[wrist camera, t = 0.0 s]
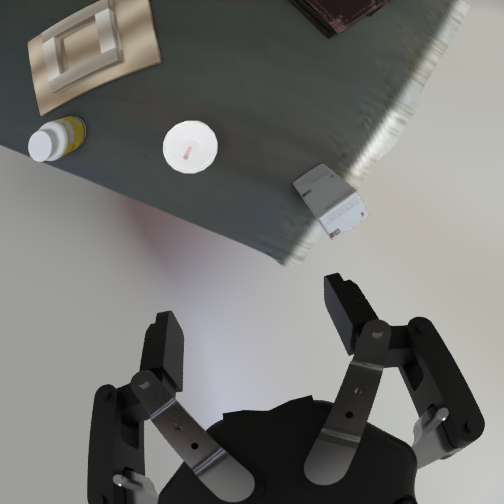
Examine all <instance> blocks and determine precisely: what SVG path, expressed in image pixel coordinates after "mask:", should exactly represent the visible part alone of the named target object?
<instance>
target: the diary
mask: <svg viewBox="0 0 504 504" xmlns="http://www.w3.org/2000/svg"><path fill="white" fill-rule="evenodd" d="M288 1H289V2H291V3H292V4H293V5H294V6H295V7H296V8H297V9H298V10H299V11H300V12H302V13H303V14H304V15H305V16H306V17H307V18H308V19H309V20H310V21H311V22H312V23H313V24H314V25H315V26H316V27H317V28H318V29H319V30H320V31H321V32H322V33H323V34H324V35H325V36H327V37H328V38H330V37H332V36H333V35H334V34H336V33H337V34H338V35H339V34H340V33H341V32H343V31H344V30H345V29H347V28H348V27H350V26H351V25H353V24H354V23H356V22H357V21H358V20H360V19H361V18H363V17H364V16H366V15H368V14H370V16H372V15H373V14H374V13H375V12H376V11H377V10H379V9H380V8H381V7H382V6H383V5H384V4H385V3H387V2H388V1H390V0H288Z"/></svg>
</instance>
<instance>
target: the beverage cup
mask: <svg viewBox="0 0 504 504" xmlns="http://www.w3.org/2000/svg"><path fill="white" fill-rule="evenodd" d="M217 144H218V143H217V140H216V137H215V134H214V132H213V131H212V130H211V129H210V128H209V127H208V126H207V125H206V124H205V123H202V122H200V121H185V122H182V123H179V124H177V125H175V126H174V127H173V128H172V129H171V130H170V131H169V132H168V133H167V135H166V137H165V140H164V142H163V154H164V156H165V159H166V161H167V163H168V164H169V165H170V166H171V167H172V168H173V169H175V170H177V171H180V172H182V173H197V172H199V171H202V170H204V169H206V168H207V167H208V166H209V165H210V164H211V163H212V162H213V160H214V158H215V156H216V154H217Z"/></svg>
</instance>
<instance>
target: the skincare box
mask: <svg viewBox="0 0 504 504" xmlns="http://www.w3.org/2000/svg"><path fill="white" fill-rule="evenodd" d="M293 185H294V186H295V188H296V189H297V191H298V192H299V194H300V195H301V197H302V198H303V200H304V202H305V203H306V204H307V206H308V207H309V208H310V210H311V211H312V213H313V214H314V215H315V217H316V218H317V220H318V221H319V223H320V224H321V225H322V227H323V228H324V230H325V231H326V233H327V234H328V236H329V237H330V239H331V240H334V239H335V238H336V237H338V236H339V235H341V234H343V233H344V232H346V231H349V230H350V229H352V228H353V227H354V226H356V224H358V223H359V222H360V221H362V220H363V219H365V218H366V217H368V216H369V214H368V212H367V211H366V208H365V206H364V204H363V202H362V200H361V198H360V196H359V194H358V192H357V191H356V190H355V189H354V188H353V187H351V186H350V185H349V184H348V183H347V182H346V181H344V180H343V179H342V178H341V177H340V176H338V175H337V174H336V173H335V172H333V171H332V170H331V169H330V168H328V167H327V166H326V165H325V164H320V165H318V166H316V167H315V168H313V169H312V170H310V171H308V172H307V173H305V174H304V175H303V176H301V177H300V178H298V179H297V180H296V181H294V182H293Z"/></svg>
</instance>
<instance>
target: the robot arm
mask: <svg viewBox="0 0 504 504" xmlns="http://www.w3.org/2000/svg"><path fill="white" fill-rule="evenodd" d="M324 299H325V305H326V307H327V310H328V312H329V314H330V316H331V318H332V321H333V323H334V325H335V327H336V329H337V331H338V333H339V335H340V338H341V340H342V342H343V344H344V346H345V349H346V351H347V353H348V355H349V356H350V355H352V354H354V357H353V359H352V361H351V362H350V364H349V367H348V369H347V372H346V375H345V377H344V380H343V382H342V385H341V387H340V390H339V392H338V395H337V397H336V399H335V402H334V403H332V402H329V401H323V400H313V398H312V395H310V396H306V397H302V398H298V399H294V400H290V401H288V402H286V403H284V404H282V405H280V406H278V407H276V408H273V409H271V410H269V411H254V410H252V411H251V410H242V411H236V412H229V413H223V420H220V421H218V422H216V423H215V424H213V425H212V426H211V427H209V428H208V429H207V430H206V431H205V430H204V429H203V428H202V427H201V426H200V425H199V424H198V423H197V422H196V421H195V419H194V418H193V417H192V416H190V414H189V413H188V412H187V411H186V410H185V409H184V408H183V407H182V406H181V405H180V403H179V402H178V401H177V400H176V399H175V395H176V394H175V393H176V392H182V391H183V353H184V335H183V332H182V329H181V327H180V325H179V323H178V322H177V320H176V318H175V316H174V314H173V312H172V311H166V312H161V313H157V316H156V322H155V323H154V324H151V325H150V326H149V328H148V329H147V331H146V334H145V339H144V340H145V341H144V346H143V347H144V348H143V351H142V358H141V364H140V371H139V372H138V373H136V374H135V375H134V376H133V378H132V379H131V382H130V383H129V384H127V385H125V386H122V387H119V388H117V389H116V388H115V387H114V386H113V385H110V384H107V385H103V386H101V387H100V388H99V389H98V390H97V392H96V394H95V398H94V404H93V412H92V421H91V429H90V440H89V455H88V480H87V481H88V482H87V483H88V484H87V485H88V486H87V498H88V503H89V504H418V503H417V501H416V498H415V494H414V484H415V477H416V472H417V470H418V469H419V468H422V467H424V466H426V465H428V464H430V463H432V462H434V461H436V460H438V459H447V458H449V457H451V456H452V455H454V454H455V453H457V452H459V451H460V450H462V449H463V448H465V447H466V446H468V445H469V444H471V443H472V442H474V441H475V440H477V439H478V438H479V437H480V436H481V435H482V433H483V431H484V426H485V422H484V418H483V416H482V414H481V411H480V409H479V407H478V405H477V403H476V401H475V399H474V397H473V395H472V392H471V390H470V388H469V387H468V385H467V383H466V381H465V379H464V377H463V375H462V373H461V372H460V369H459V368H458V366H457V364H456V363H455V361H454V359H453V357H452V355H451V353H450V352H449V350H448V348H447V347H446V345H445V343H444V342H443V340H442V338H441V337H440V335H439V333H438V332H437V330H436V329H435V327H434V325H433V324H432V322H431V321H430V320H428V319H427V318H424V317H415V318H413V319H411V320H410V321H409V323H408V325H404V326H390V325H389V324H388V323H386V322H385V321H383V320H379V318H378V317H377V315H376V313H375V312H374V310H373V309H372V307H371V305H370V304H369V302H368V301H367V299H366V298H365V296H364V294H363V293H362V291H361V290H360V288H359V287H358V285H357V284H355V283H353V282H352V281H351V280H347V281H344V280H343V279H342V277H341V276H340V274H339V273H335V274H331V275H327V276H324ZM388 367H398V368H399V371H400V373H401V375H402V377H403V379H404V382H405V384H406V386H407V388H408V391H409V393H410V396H411V398H412V401H413V403H414V405H415V408H416V410H417V413H418V415H419V419H418V421H417V422H416V423H415V425H414V431H413V432H414V443H413V445H412V447H410V446H409V445H408V444H407V443H406V442H404V441H402V440H400V439H398V438H396V437H394V436H392V435H390V434H389V433H387V432H385V431H383V430H381V429H379V428H377V427H376V426H374V425H372V424H370V423H368V422H367V420H368V417H369V414H370V411H371V408H372V405H373V402H374V399H375V396H376V393H377V390H378V386H379V383H380V379H381V376H382V372H383V368H388ZM148 419H151V421H152V422H153V423H154V425H155V426H156V427H157V429H158V430H159V431H160V433H161V434H162V435H163V436H164V438H165V439H166V440H167V441H168V443H169V444H170V445H171V446H172V447H173V448H174V450H175V451H176V452H177V453H178V454H179V456H180V457H181V458H182V459H183V460H184V462H183V463H182V464H181V466H180V467H179V469H178V470H177V471H176V473H175V474H174V475H173V477H172V478H171V479H170V480H169V482H168V483H167V484H166V486H165V487H164V488H163V490H162V491H161V492H160V494H159V495H157V493H156V491H155V488H154V484H153V483H152V481H151V480H150V479H149V478H147V477H145V464H144V463H145V462H144V421H145V420H148Z"/></svg>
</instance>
